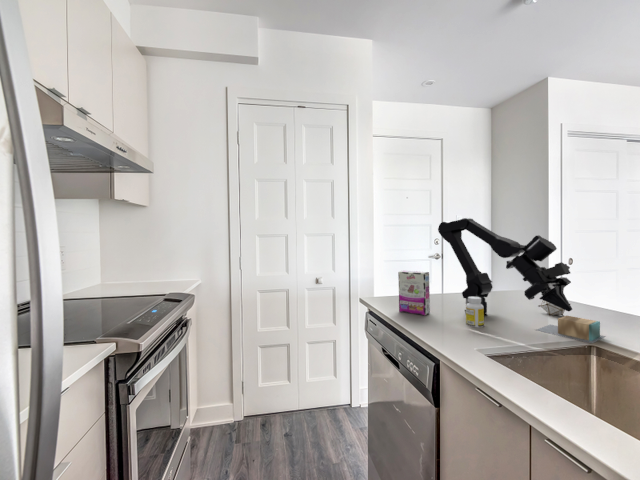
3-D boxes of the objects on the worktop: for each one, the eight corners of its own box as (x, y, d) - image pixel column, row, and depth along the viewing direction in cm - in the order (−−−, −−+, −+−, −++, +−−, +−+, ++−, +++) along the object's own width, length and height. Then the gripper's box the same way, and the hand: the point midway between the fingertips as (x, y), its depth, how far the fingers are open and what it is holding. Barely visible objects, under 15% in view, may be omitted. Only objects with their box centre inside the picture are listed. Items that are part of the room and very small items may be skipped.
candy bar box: (430, 313, 120) (430, 271, 120) (425, 316, 116) (425, 273, 116) (403, 309, 127) (403, 270, 127) (398, 311, 124) (397, 271, 123)
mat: (535, 331, 96) (535, 329, 96) (550, 326, 101) (550, 324, 101) (592, 345, 84) (592, 343, 84) (605, 338, 89) (605, 336, 89)
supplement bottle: (482, 324, 104) (482, 296, 104) (485, 329, 99) (485, 299, 99) (465, 323, 106) (464, 295, 106) (467, 328, 101) (466, 298, 101)
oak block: (557, 318, 92) (591, 325, 86) (566, 315, 96) (599, 321, 89) (557, 333, 93) (591, 341, 86) (566, 329, 96) (599, 336, 89)
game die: (554, 324, 115) (563, 301, 117) (569, 322, 107) (579, 298, 109) (530, 311, 117) (539, 289, 119) (543, 309, 109) (553, 285, 111)
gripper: (535, 256, 91) (581, 299, 82) (563, 252, 101) (607, 291, 92) (508, 279, 98) (547, 321, 89) (536, 273, 108) (575, 311, 99)
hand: (570, 310), depth 92 cm, fingers closed
